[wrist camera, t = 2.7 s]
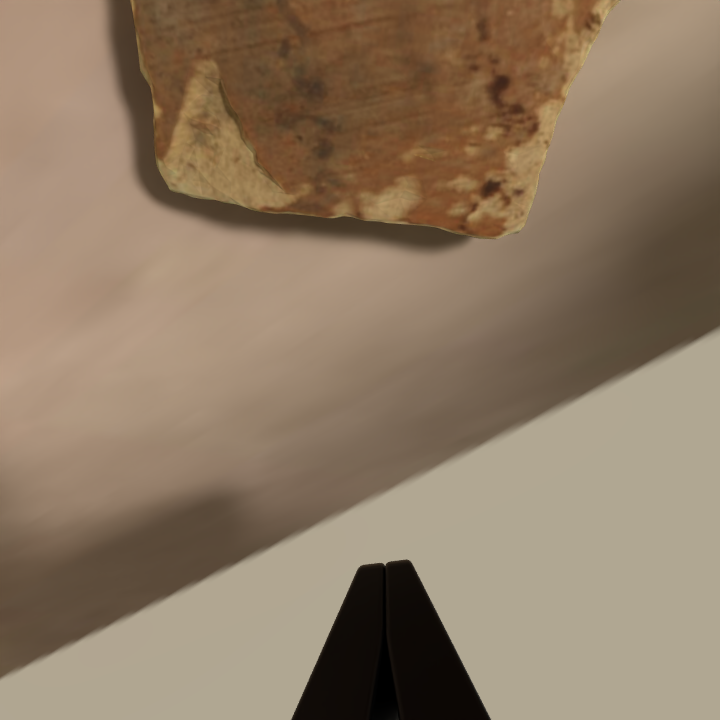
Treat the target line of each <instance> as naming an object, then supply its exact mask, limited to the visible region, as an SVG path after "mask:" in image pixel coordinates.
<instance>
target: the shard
mask: <svg viewBox="0 0 720 720" xmlns="http://www.w3.org/2000/svg"><path fill="white" fill-rule="evenodd" d="M619 1H620V0H130V2H131V6H132V11H133V19H134V26H135V32H136V39H137V47H138V56H139V65H140V71H141V73H142V74H143V76H144V78H145V79H146V81H147V83H148V84H149V86H150V88H151V94H152V100H153V110H154V118H153V126H154V149H155V159H156V165H157V167H158V170H159V172H160V173H161V175H162V177H163V179H164V180H165V182H166V184H167V185H168V187H169V190H171V191H172V192H176V193H182V194H186V195H188V196H190V197H193V198H199V199H206V200H217V201H220V202H222V203H230V204H237V205H240V206H243V207H245V208H248V209H250V210H254V211H258V212H266V213H273V214H282V213H287V214H297V215H307V216H315V217H324V218H336V217H342V216H346V217H353V218H356V219H360V220H363V221H379V222H384V223H397V224H409V225H421V226H429V227H437V228H440V229H443V230H445V231H448V232H451V233H454V234H460V235H467V236H471V237H475V238H480V239H498V238H500V237H503V236H505V235H509V234H515V233H518V232H519V231H520V230H521V229H522V228H523V227H524V226H525V224H526V220H527V217H528V214H529V211H530V208H531V206H532V203H533V200H534V197H535V194H536V190H537V186H538V181H539V173H540V171H541V168H542V166H543V164H544V162H545V158H546V154H547V149H548V147H549V145H550V142H551V139H552V136H553V132H554V128H555V124H556V121H557V118H558V116H559V114H560V112H561V109H562V107H563V105H564V102H565V99H566V97H567V94H568V91H569V88H570V86H571V85H572V83H573V81H574V79H575V77H576V76H577V74H578V72H579V71H580V69H581V67H582V66H583V64H584V62H585V59H586V57H587V55H588V53H589V51H590V49H591V46H592V44H593V43H594V41H595V40H596V38H597V37H598V34H599V31H600V29H601V26H602V24H603V22H604V20H605V18H606V16H607V15H608V13H609V12H610V11H611V10H612V9H613V8H614V7H615V6H616V5H617V4H618V3H619Z"/></svg>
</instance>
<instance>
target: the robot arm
mask: <svg viewBox="0 0 720 720" xmlns="http://www.w3.org/2000/svg"><path fill="white" fill-rule="evenodd" d="M292 720H491V719H490V717H489V715H488V713H487V711H486V709H485V707H484V705H483V703H482V701H481V699H480V697H479V695H478V693H477V691H476V689H475V687H474V685H473V683H472V681H471V679H470V677H469V675H468V673H467V671H466V669H465V667H464V665H463V663H462V661H461V659H460V657H459V655H458V654H457V651H456V649H455V648H454V645H453V644H452V642H451V640H450V638H449V636H448V634H447V632H446V630H445V628H444V626H443V624H442V622H441V620H440V618H439V616H438V614H437V612H436V610H435V608H434V606H433V604H432V602H431V600H430V598H429V596H428V594H427V592H426V590H425V589H424V586H423V584H422V582H421V580H420V578H419V576H418V574H417V572H416V571H415V568H414V566H413V565H412V563H411V562H410V561H409V560H399V561H391V562H388V563H387V564H386V566H385V565H384V564H383V563H376V564H368V565H362V566H360V567H359V568H358V570H357V572H356V574H355V576H354V579H353V581H352V583H351V586H350V588H349V590H348V592H347V595H346V597H345V599H344V601H343V604H342V606H341V608H340V611H339V613H338V615H337V617H336V620H335V622H334V624H333V626H332V629H331V631H330V633H329V635H328V638H327V640H326V642H325V645H324V647H323V649H322V652H321V654H320V656H319V658H318V661H317V663H316V665H315V667H314V669H313V672H312V674H311V676H310V678H309V681H308V683H307V685H306V688H305V690H304V692H303V694H302V697H301V699H300V701H299V703H298V706H297V708H296V710H295V712H294V715H293V717H292Z"/></svg>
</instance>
